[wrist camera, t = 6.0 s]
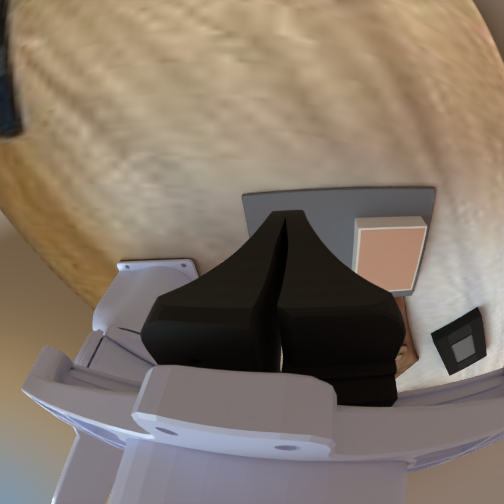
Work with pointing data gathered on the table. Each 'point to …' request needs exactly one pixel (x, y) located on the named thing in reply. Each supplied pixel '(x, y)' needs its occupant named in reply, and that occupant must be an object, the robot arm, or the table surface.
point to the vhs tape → (461, 341)
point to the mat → (343, 212)
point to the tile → (388, 250)
